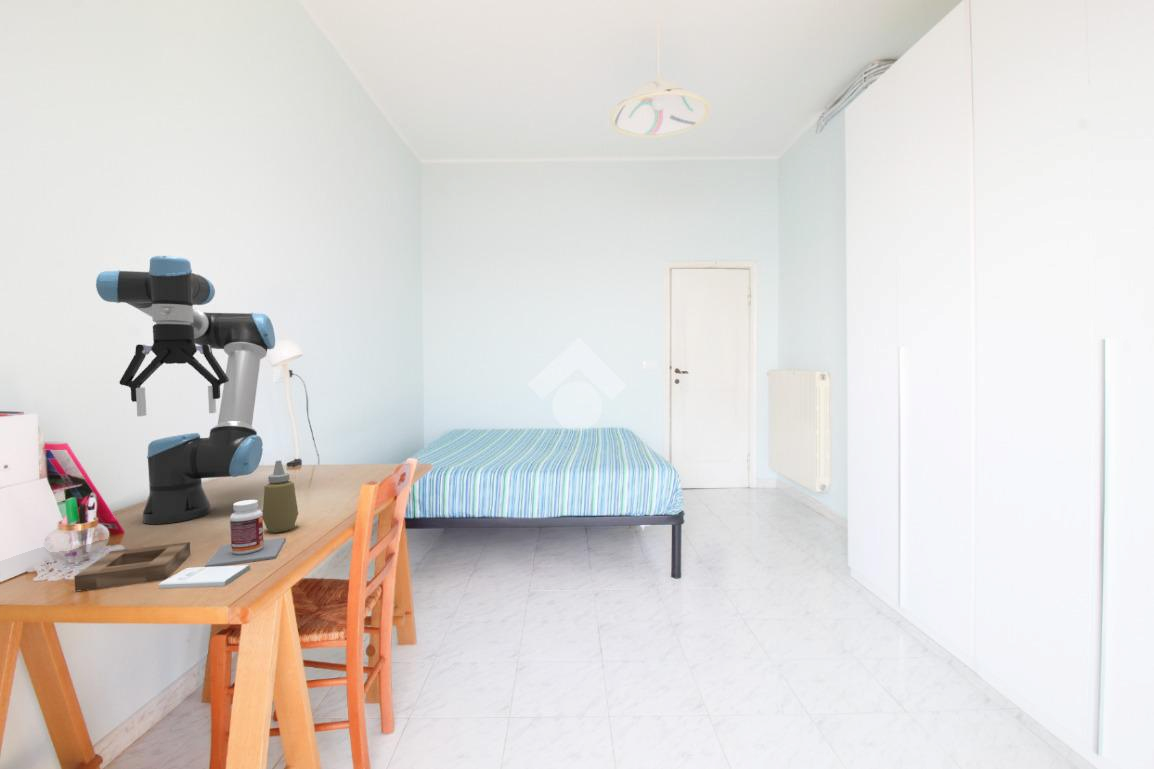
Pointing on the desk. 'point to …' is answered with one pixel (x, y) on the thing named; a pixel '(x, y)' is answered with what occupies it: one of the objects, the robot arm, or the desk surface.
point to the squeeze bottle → (279, 501)
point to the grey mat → (229, 558)
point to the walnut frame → (133, 566)
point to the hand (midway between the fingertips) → (178, 414)
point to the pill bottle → (246, 527)
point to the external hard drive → (204, 576)
